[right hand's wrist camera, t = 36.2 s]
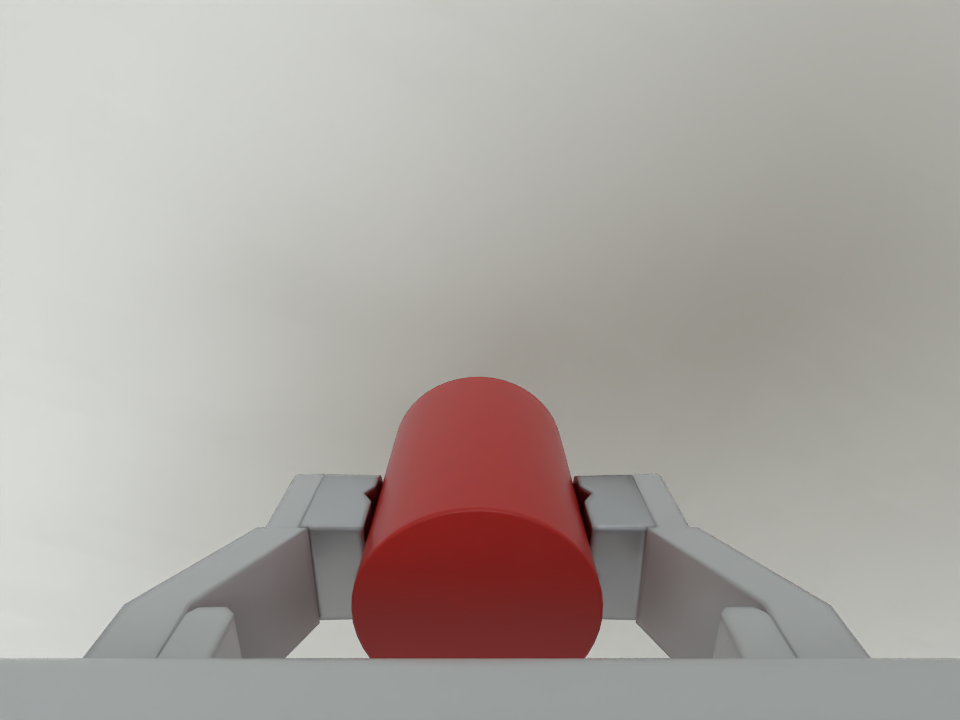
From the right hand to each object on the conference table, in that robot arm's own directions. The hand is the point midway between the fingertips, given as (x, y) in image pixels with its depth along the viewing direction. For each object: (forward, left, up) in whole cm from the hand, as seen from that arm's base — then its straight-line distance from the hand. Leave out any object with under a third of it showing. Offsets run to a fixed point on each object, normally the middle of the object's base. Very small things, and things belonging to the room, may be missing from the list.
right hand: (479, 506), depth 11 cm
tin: (0, 0, -2) cm, 2 cm away
